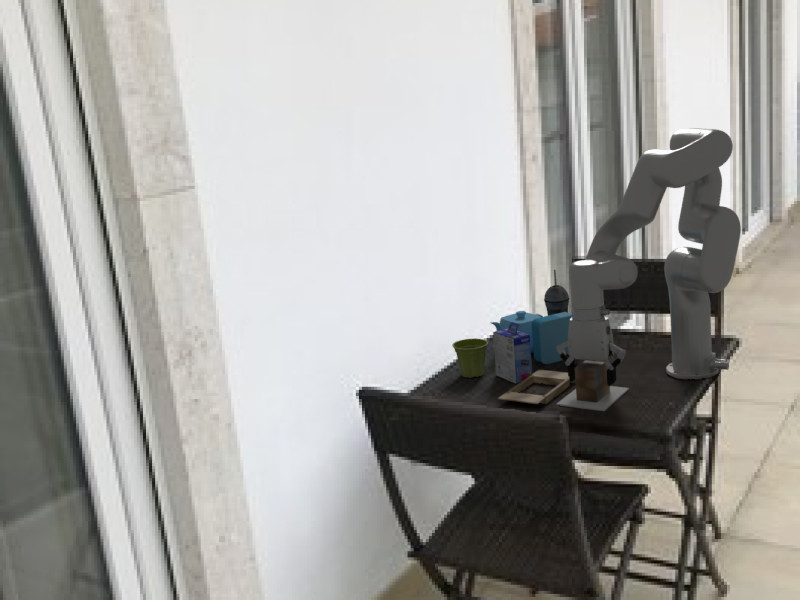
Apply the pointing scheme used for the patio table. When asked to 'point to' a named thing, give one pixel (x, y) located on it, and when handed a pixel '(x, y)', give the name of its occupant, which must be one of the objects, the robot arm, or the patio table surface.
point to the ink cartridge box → (512, 354)
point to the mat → (600, 405)
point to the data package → (550, 336)
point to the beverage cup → (556, 299)
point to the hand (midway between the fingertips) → (592, 381)
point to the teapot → (521, 319)
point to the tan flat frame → (538, 377)
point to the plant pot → (471, 356)
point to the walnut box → (591, 381)
